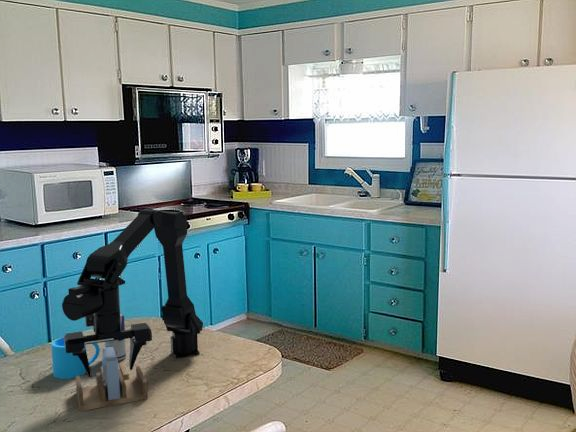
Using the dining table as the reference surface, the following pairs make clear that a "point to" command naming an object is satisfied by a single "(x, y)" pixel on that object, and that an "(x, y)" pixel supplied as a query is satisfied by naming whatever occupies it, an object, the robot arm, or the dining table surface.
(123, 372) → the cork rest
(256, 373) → the dining table surface
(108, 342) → the energy drink
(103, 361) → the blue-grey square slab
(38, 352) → the dining table surface
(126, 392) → the rack
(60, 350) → the mug
